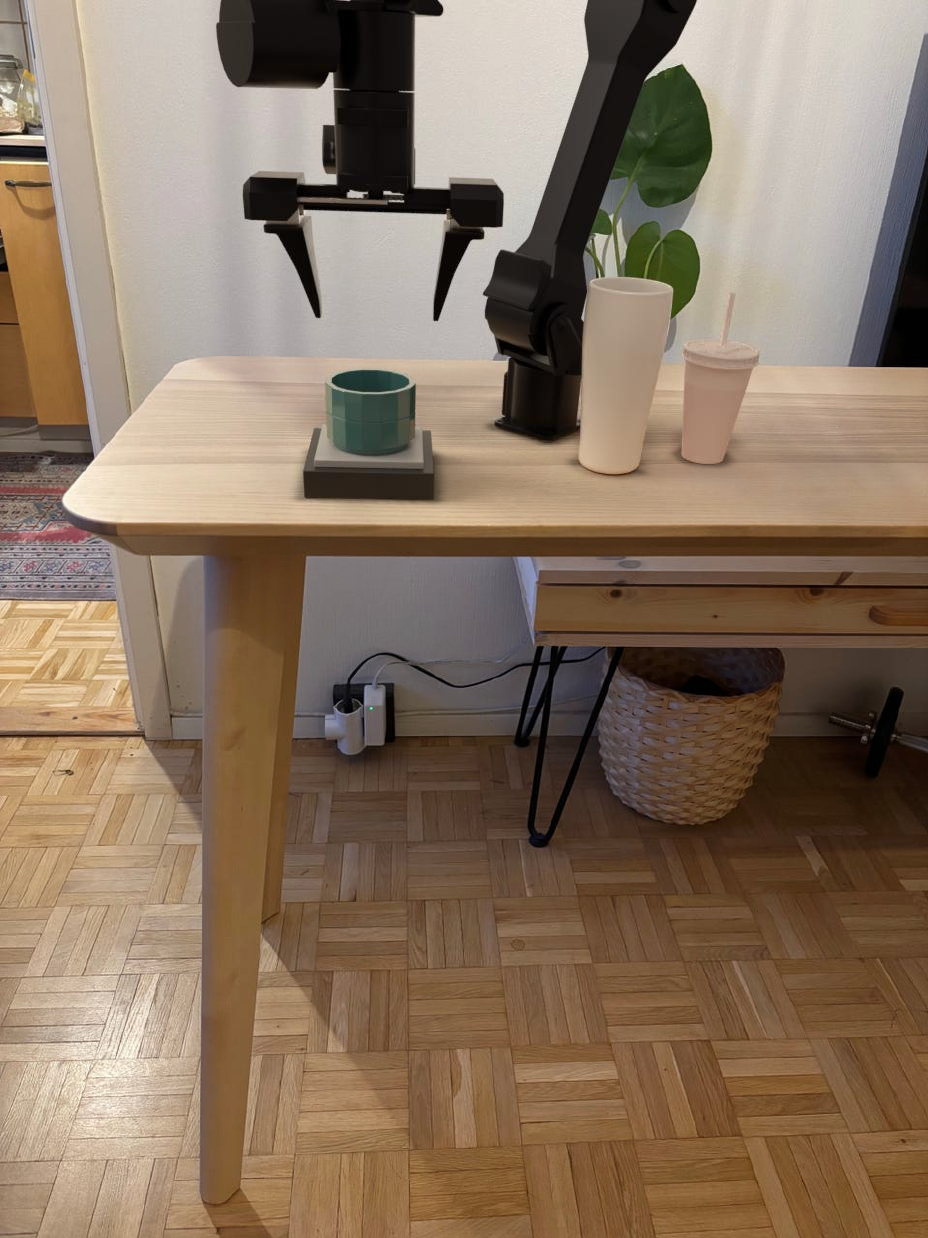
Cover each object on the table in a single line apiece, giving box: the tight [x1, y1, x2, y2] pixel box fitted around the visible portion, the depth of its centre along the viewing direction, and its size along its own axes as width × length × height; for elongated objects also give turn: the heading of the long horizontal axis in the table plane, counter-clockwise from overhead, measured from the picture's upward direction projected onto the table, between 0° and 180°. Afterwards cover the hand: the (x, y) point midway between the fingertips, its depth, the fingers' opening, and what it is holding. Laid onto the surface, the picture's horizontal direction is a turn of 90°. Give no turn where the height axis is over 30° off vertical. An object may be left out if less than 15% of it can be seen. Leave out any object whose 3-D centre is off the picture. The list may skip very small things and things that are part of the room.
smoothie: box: [680, 292, 761, 465], centre depth 79 cm, size 6×6×14 cm
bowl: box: [324, 367, 417, 455], centre depth 73 cm, size 7×7×5 cm
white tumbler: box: [577, 276, 674, 475], centre depth 76 cm, size 7×7×15 cm
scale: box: [302, 423, 435, 500], centre depth 75 cm, size 10×10×3 cm
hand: (377, 318), depth 73 cm, fingers open, 9 cm apart
